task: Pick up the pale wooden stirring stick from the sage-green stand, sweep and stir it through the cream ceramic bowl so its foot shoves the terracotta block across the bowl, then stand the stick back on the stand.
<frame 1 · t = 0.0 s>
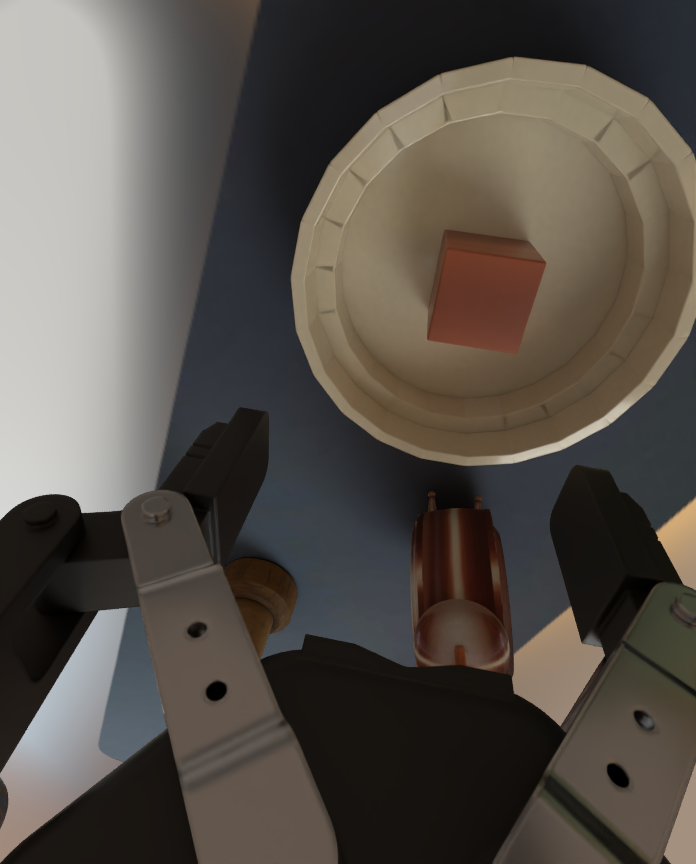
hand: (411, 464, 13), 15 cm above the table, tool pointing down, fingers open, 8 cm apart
bowl: (475, 274, 24), on the table
alarm clock: (457, 527, 33), on the table
mortar and pestle: (260, 583, 40), on the table
block: (476, 277, 23), point 1 cm above the table, touching bowl
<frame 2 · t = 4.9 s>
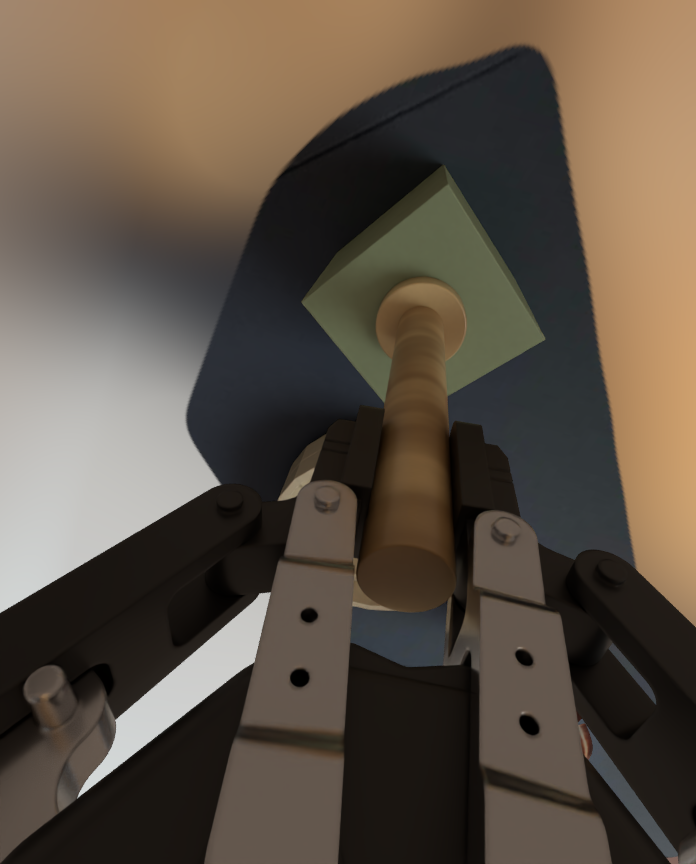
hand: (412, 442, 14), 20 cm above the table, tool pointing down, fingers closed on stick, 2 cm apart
stand: (424, 265, 30), on the table
stick: (420, 320, 22), point 10 cm above the table, touching gripper
bowl: (380, 500, 41), on the table
alarm clock: (512, 602, 46), on the table
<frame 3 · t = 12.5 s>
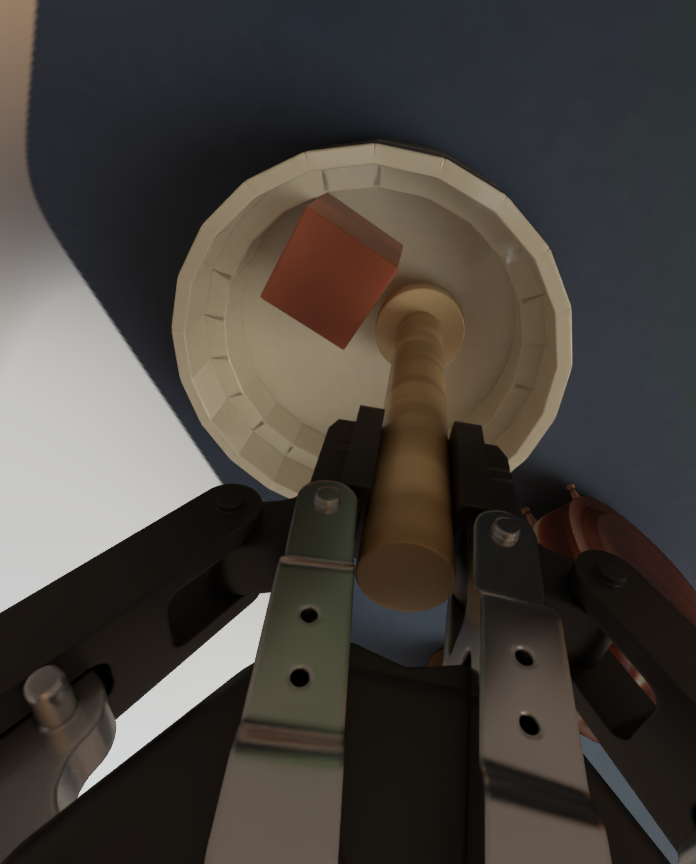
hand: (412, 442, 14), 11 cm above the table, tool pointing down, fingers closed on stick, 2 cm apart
stick: (419, 325, 22), point 1 cm above the table, touching gripper
bowl: (373, 329, 24), on the table
alarm clock: (584, 520, 29), on the table
block: (342, 258, 22), point 1 cm above the table, touching bowl
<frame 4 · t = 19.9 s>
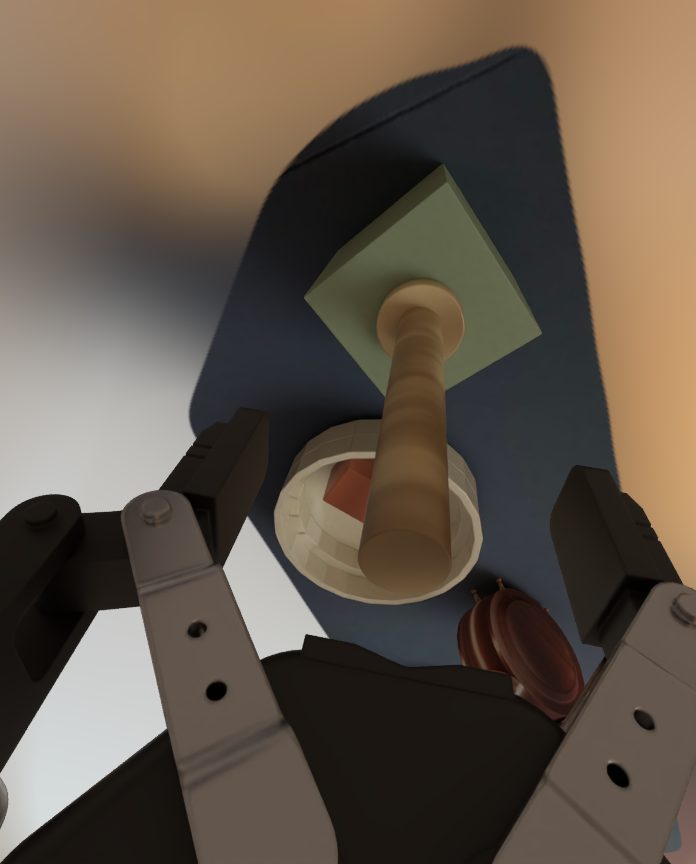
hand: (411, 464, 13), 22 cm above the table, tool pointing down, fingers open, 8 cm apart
stand: (424, 263, 31), on the table
stick: (420, 320, 23), point 10 cm above the table, touching stand
bowl: (380, 495, 42), on the table
alarm clock: (511, 597, 47), on the table
block: (363, 465, 40), point 1 cm above the table, touching bowl
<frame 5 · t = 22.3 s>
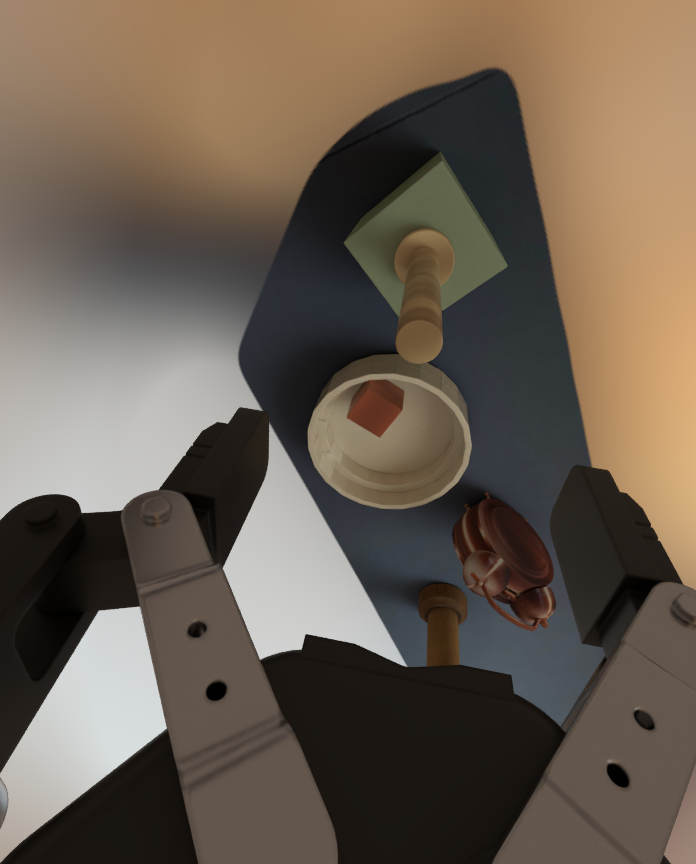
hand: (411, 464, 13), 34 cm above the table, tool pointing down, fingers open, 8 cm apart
stand: (426, 227, 41), on the table
stick: (424, 258, 33), point 10 cm above the table, touching stand
bowl: (390, 421, 52), on the table
alarm clock: (496, 510, 57), on the table
mortar and pestle: (442, 597, 66), on the table
block: (377, 394, 50), point 1 cm above the table, touching bowl
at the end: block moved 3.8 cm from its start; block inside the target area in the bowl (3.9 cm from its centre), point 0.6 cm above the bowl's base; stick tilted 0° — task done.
